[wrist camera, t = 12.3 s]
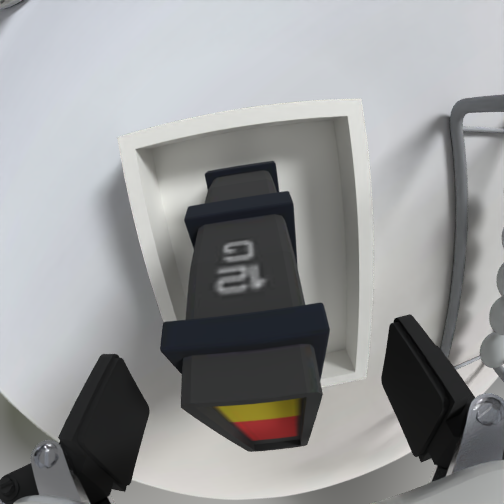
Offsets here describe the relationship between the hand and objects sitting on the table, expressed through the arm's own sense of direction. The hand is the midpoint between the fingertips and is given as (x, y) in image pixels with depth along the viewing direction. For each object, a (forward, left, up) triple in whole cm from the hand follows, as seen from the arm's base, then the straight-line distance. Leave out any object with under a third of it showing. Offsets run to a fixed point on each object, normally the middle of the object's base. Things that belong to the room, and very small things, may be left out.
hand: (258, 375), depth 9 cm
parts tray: (0, -1, -13) cm, 13 cm away
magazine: (0, -1, -12) cm, 12 cm away
